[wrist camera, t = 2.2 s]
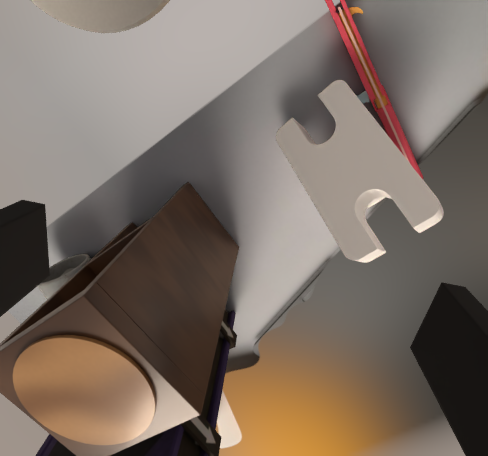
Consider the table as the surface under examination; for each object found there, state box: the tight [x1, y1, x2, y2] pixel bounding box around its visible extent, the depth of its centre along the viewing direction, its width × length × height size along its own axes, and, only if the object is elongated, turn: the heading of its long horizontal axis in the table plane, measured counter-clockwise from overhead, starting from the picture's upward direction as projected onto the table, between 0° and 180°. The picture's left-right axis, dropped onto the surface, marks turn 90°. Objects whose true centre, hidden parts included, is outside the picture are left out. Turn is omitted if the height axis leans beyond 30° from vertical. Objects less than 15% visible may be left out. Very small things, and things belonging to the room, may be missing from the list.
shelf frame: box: [0, 182, 239, 396], centre depth 38 cm, size 12×12×26 cm
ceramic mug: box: [37, 254, 91, 300], centre depth 50 cm, size 11×8×8 cm
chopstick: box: [325, 0, 423, 179], centre depth 39 cm, size 24×2×5 cm
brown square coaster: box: [0, 283, 205, 456], centre depth 25 cm, size 12×12×2 cm
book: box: [36, 310, 237, 456], centre depth 43 cm, size 24×6×30 cm, turn 122°
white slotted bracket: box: [276, 80, 444, 263], centre depth 39 cm, size 10×18×11 cm
